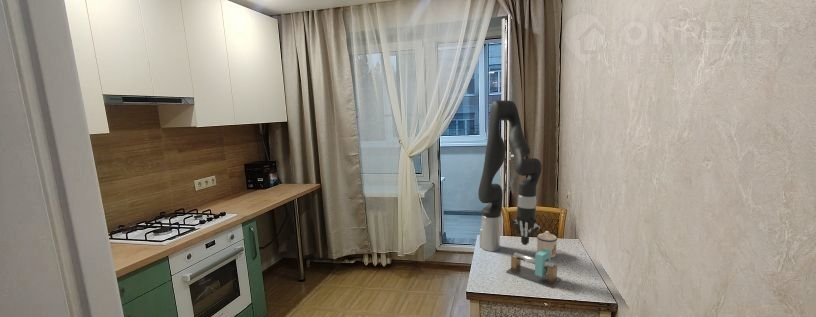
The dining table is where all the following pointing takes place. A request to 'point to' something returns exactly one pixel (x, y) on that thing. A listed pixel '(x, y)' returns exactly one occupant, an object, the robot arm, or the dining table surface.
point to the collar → (542, 261)
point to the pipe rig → (529, 274)
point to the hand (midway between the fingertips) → (524, 244)
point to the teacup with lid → (547, 242)
